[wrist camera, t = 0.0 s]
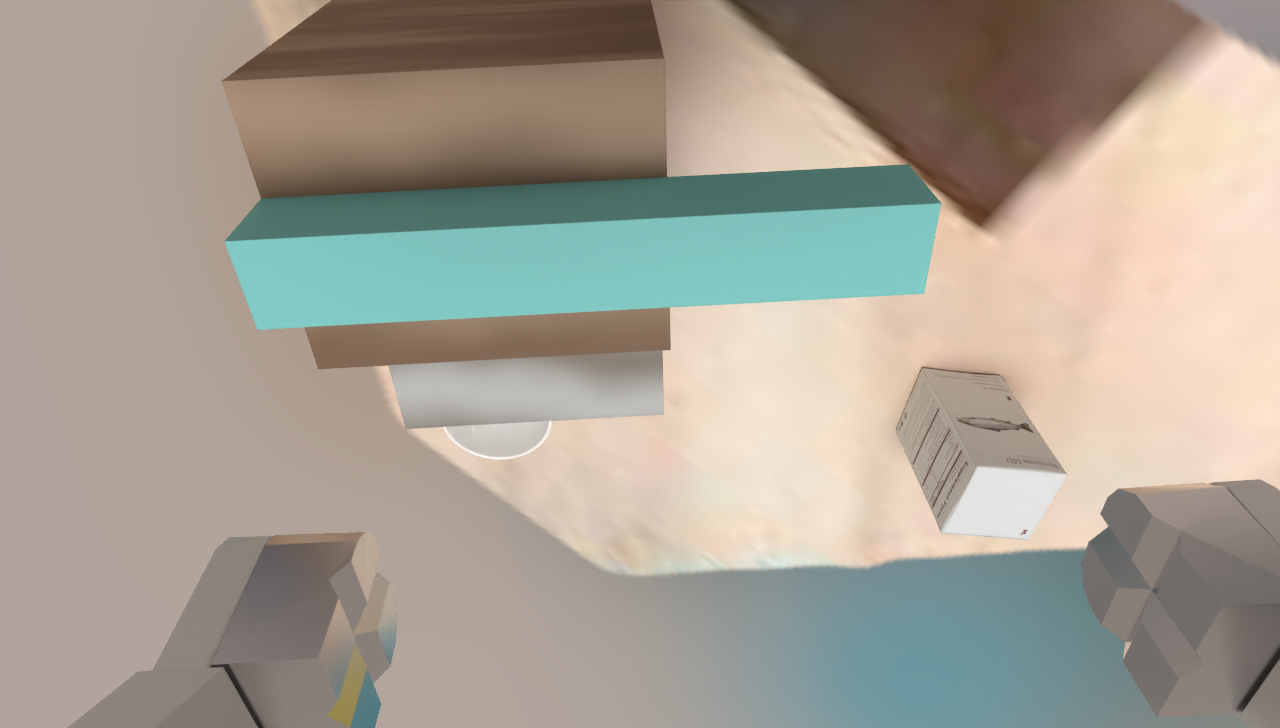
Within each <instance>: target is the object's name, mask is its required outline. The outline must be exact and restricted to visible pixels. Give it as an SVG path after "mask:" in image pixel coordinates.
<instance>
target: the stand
mask: <svg viewBox="0 0 1280 728" xmlns="http://www.w3.org/2000/svg"><path fill="white" fill-rule="evenodd" d="M222 83H223V87H224V90H225V93H226V95H227V99H228V101H229V104H230V107H231V110H232V113H233V116H234V119H235V122H236V125H237V128H238V131H239V134H240V137H241V140H242V143H243V146H244V149H245V152H246V155H247V158H248V161H249V164H250V167H251V170H252V173H253V176H254V179H255V182H256V185H257V188H258V190H259V193H260V197H261V199H265V198H284V197H303V196H322V195H340V194H359V193H378V192H397V191H416V190H435V189H454V188H473V187H492V186H511V185H530V184H549V183H568V182H586V181H605V180H624V179H643V178H662V177H667V165H666V119H665V74H664V56H663V51H662V47H661V43H660V39H659V34H658V30H657V26H656V22H655V17H654V13H653V9H652V5H651V1H650V0H332V1H330V2H329V3H327V4H326V5H325V6H323V7H322V8H321V9H319V10H318V11H317V12H315V13H314V14H312V15H311V16H310V17H308V18H307V19H306V20H304V21H303V22H302V23H300V24H299V25H298V26H296V27H295V28H293V29H292V30H291V31H289V32H288V33H287V34H285V35H284V36H283V37H281V38H280V39H278V40H277V41H276V42H274V43H273V44H272V45H270V46H269V47H268V48H266V49H265V50H264V51H262V52H261V53H259V54H258V55H257V56H255V57H254V58H253V59H251V60H250V61H249V62H247V63H246V64H245V65H243V66H242V67H240V68H239V69H238V70H237V71H235V72H234V73H232V74H231V75H230V76H228V77H227V78H225V79H224V80H223V81H222ZM304 328H305V331H306V333H307V336H308V339H309V342H310V345H311V348H312V351H313V354H314V357H315V360H316V363H317V366H318V369H327V368H328V369H329V368H347V367H366V366H384V365H388V366H389V369H390V373H391V377H392V380H393V384H394V388H395V391H396V395H397V399H398V402H399V406H400V410H401V413H402V417H403V421H404V424H405V428H406V429H413V428H431V427H449V426H467V425H485V424H504V423H522V422H540V421H558V420H576V419H594V418H612V417H631V416H649V415H664V391H663V357H662V350H671V348H670V307H667V308H649V309H630V310H612V311H593V312H575V313H556V314H538V315H519V316H501V317H482V318H464V319H445V320H427V321H408V322H390V323H372V324H353V325H335V326H316V327H304Z"/></svg>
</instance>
